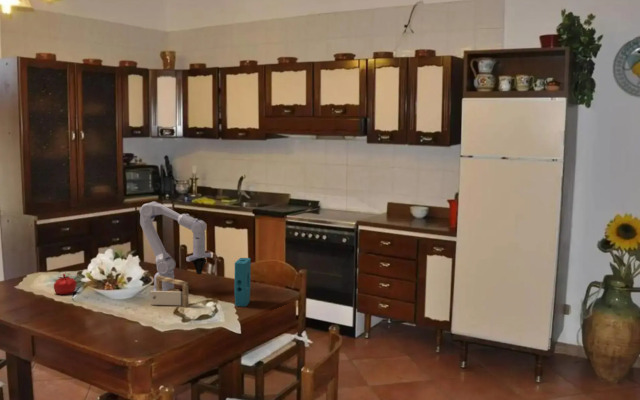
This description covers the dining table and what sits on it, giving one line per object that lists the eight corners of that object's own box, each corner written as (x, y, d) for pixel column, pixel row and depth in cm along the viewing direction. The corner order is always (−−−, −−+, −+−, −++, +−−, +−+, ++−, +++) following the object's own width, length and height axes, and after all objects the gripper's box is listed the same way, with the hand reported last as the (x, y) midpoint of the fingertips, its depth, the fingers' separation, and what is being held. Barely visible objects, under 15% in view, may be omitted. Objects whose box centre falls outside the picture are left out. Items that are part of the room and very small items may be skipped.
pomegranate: (71, 296, 282) (70, 277, 281) (50, 295, 282) (49, 276, 281) (80, 290, 292) (79, 271, 291) (59, 289, 292) (59, 271, 291)
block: (245, 307, 269) (245, 263, 267) (234, 307, 270) (234, 263, 268) (250, 300, 281) (251, 258, 279) (240, 299, 282) (240, 257, 280)
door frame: (156, 299, 279) (156, 276, 278) (159, 298, 281) (159, 275, 279) (185, 307, 268) (185, 282, 267) (188, 306, 270) (188, 282, 269)
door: (149, 305, 269) (149, 292, 268) (151, 303, 271) (151, 290, 271) (183, 306, 269) (183, 292, 268) (184, 304, 271) (184, 291, 270)
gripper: (193, 249, 282) (193, 277, 283) (216, 244, 293) (215, 272, 295) (183, 247, 286) (183, 275, 287) (205, 243, 297) (205, 270, 299)
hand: (199, 273), depth 291 cm, fingers closed
